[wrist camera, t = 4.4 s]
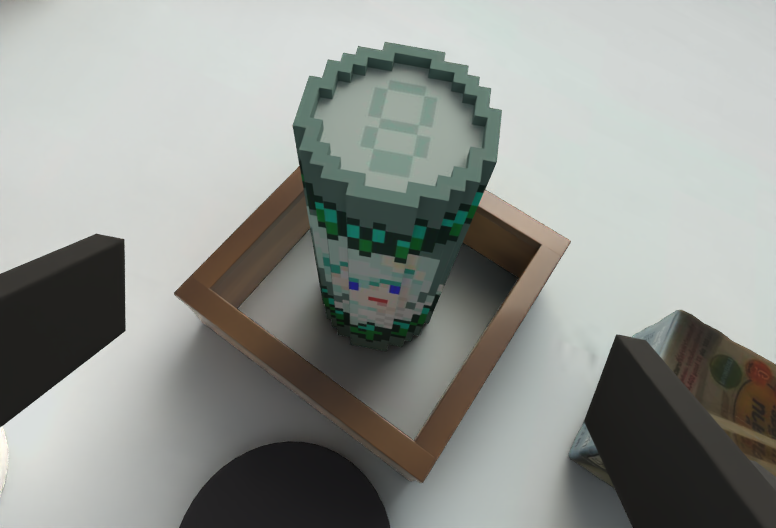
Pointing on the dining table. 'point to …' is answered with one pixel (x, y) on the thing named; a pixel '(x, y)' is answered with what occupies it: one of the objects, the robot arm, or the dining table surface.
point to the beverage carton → (709, 388)
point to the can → (391, 183)
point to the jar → (3, 458)
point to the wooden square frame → (407, 456)
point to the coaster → (287, 492)
